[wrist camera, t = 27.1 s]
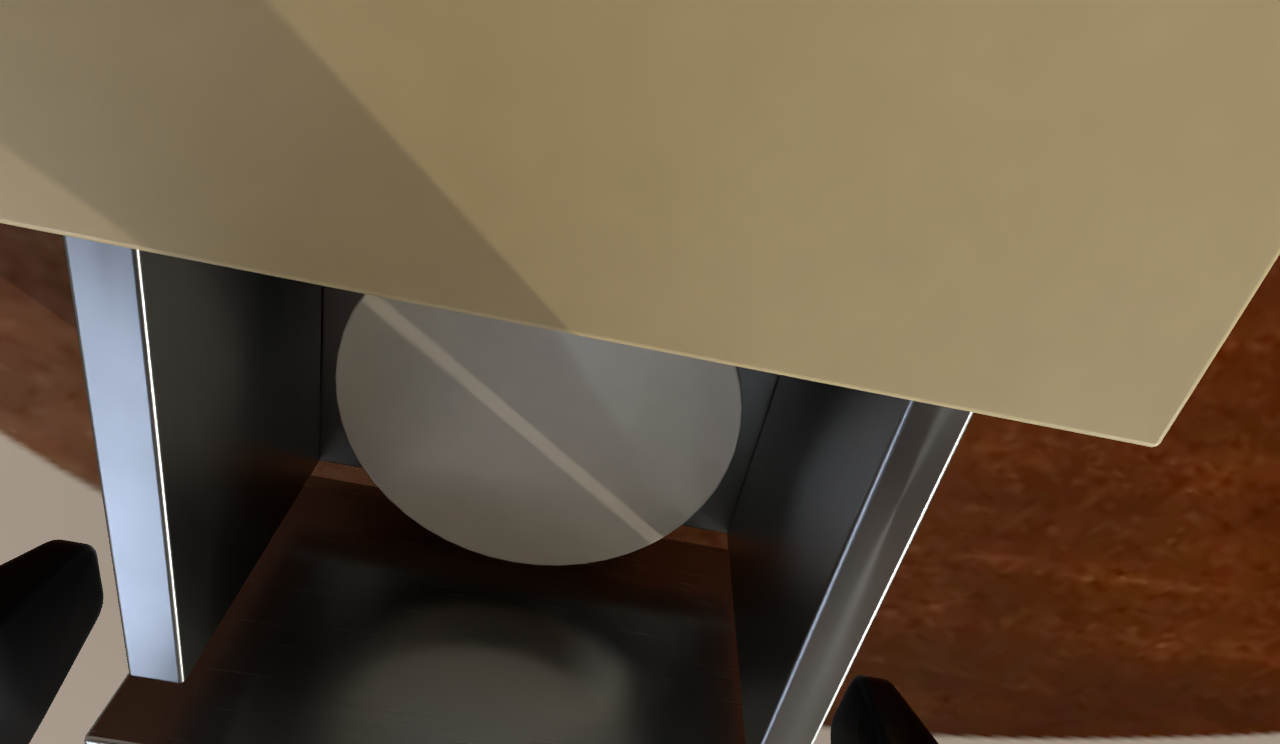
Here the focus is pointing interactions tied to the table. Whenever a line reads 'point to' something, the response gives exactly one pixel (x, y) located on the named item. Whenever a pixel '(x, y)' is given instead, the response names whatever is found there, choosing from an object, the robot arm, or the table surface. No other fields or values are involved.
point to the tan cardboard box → (700, 174)
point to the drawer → (454, 549)
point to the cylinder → (531, 431)
